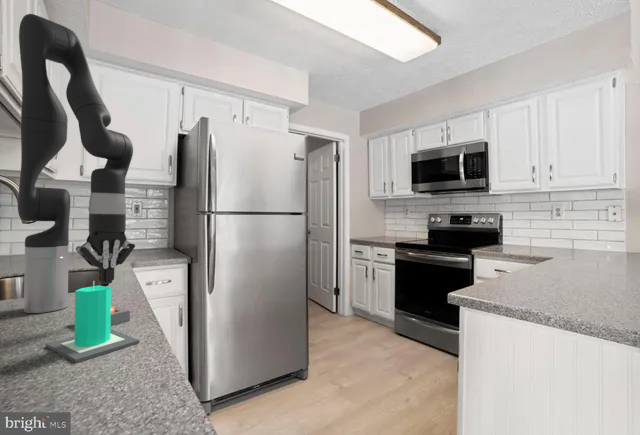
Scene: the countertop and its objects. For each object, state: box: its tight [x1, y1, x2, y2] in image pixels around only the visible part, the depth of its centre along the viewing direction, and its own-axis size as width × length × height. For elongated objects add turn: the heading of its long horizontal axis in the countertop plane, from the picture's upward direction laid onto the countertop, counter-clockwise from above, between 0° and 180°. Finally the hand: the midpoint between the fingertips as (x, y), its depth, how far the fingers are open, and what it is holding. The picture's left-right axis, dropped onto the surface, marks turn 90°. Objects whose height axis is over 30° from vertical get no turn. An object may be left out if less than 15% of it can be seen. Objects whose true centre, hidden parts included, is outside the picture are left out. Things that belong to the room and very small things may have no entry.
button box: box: [111, 305, 131, 326], centre depth 78 cm, size 8×8×2 cm
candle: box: [74, 280, 112, 347], centre depth 65 cm, size 6×6×12 cm
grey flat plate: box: [45, 328, 140, 364], centre depth 65 cm, size 13×11×1 cm
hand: (106, 283), depth 79 cm, fingers closed
